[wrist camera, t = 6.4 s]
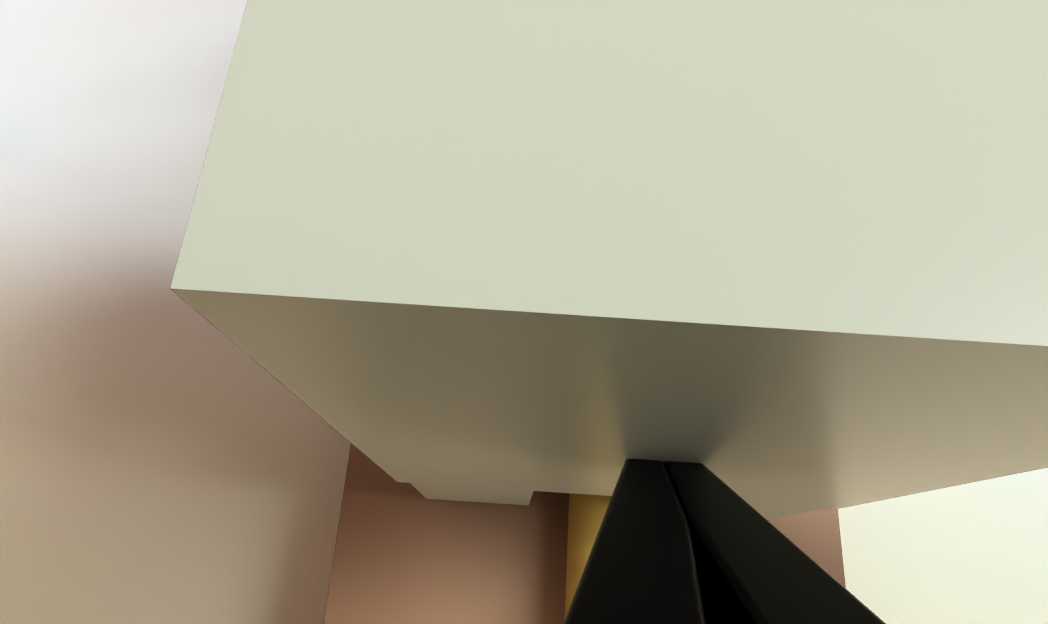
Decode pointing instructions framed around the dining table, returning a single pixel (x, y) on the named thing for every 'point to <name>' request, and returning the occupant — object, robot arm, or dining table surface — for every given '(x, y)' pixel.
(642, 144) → the tall pale green box
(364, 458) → the brown board with bar
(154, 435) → the dining table surface
